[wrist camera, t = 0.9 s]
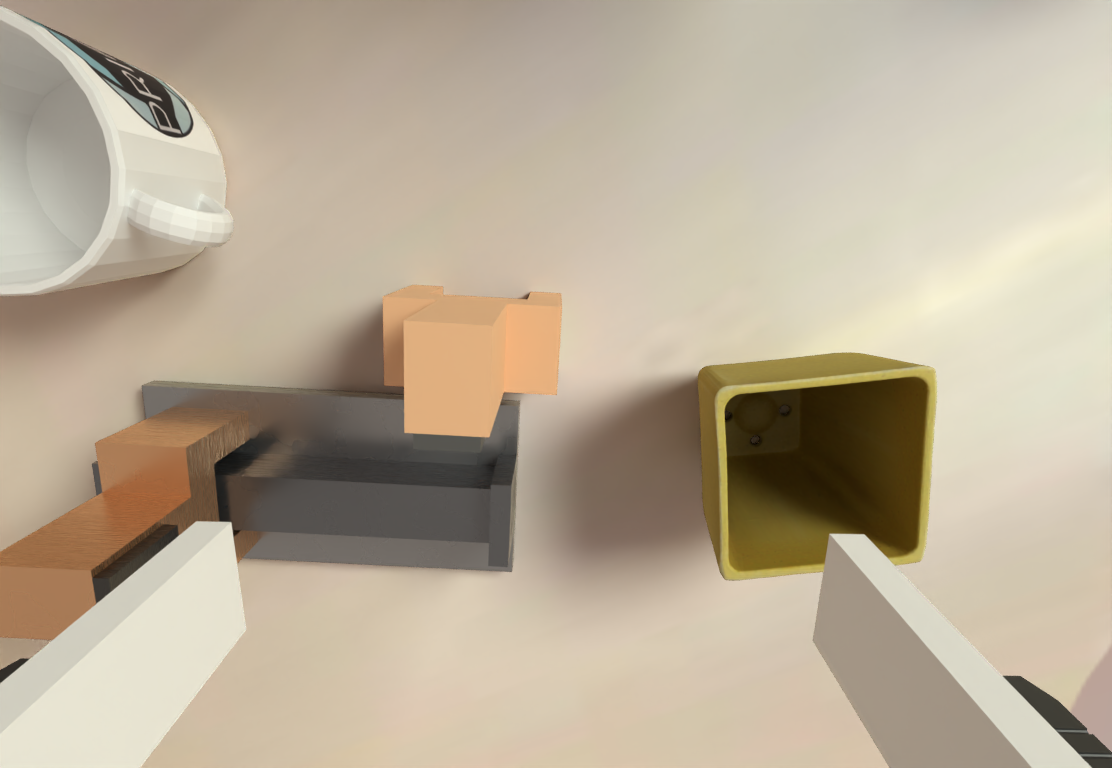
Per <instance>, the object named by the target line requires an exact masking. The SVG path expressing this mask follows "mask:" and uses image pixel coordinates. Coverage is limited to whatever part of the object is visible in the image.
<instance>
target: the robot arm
mask: <svg viewBox="0 0 1112 768" xmlns="http://www.w3.org/2000/svg"><path fill="white" fill-rule="evenodd" d="M245 630H246V624H245V616H244V609H243V602H242V595H241V588H240V581H239V574H238V567H237V559H236V552H235V545H234V538H233V531H232V524H231V522H205V521H196V522H195V523H194V524H193V525H191V526H190V527H189V528H188V529H186V530H185V531H184V532H183V533H182V534H180V535H179V536H178V537H177V538H176V539H174V540H173V541H172V542H171V543H170V544H168V545H167V546H166V547H165V548H163V549H162V550H161V551H160V552H159V553H157V554H156V555H155V556H154V557H153V558H151V559H150V560H149V561H148V562H147V563H145V564H144V565H143V566H142V567H141V568H139V569H138V570H137V571H136V572H134V573H133V574H132V575H131V576H130V577H128V578H127V579H126V580H125V581H124V582H122V583H121V584H120V585H119V586H118V587H116V588H115V589H114V590H113V591H111V592H110V593H109V594H108V595H107V596H105V597H104V598H103V599H102V600H101V601H99V602H98V603H97V604H96V605H95V606H93V607H92V608H91V609H90V610H89V611H87V612H86V613H85V614H84V615H82V616H81V617H80V618H79V619H78V620H76V621H75V622H74V623H73V624H72V625H70V626H69V627H68V628H67V629H66V630H64V631H63V632H62V633H61V634H59V635H58V636H57V637H56V638H55V639H53V640H52V641H51V642H50V643H49V644H47V645H46V646H45V647H44V648H43V649H41V650H40V651H39V652H38V653H37V654H35V655H34V656H33V657H32V658H30V659H19V660H18V661H16V662H14V663H12V664H10V665H8V666H7V667H5V668H3V669H1V670H0V768H140V767H141V766H142V765H143V763H144V762H145V761H146V760H147V758H148V757H149V756H150V754H151V753H152V752H153V750H154V749H155V748H156V747H157V745H158V744H159V743H160V741H161V740H162V739H163V737H164V736H165V735H166V733H167V732H168V731H169V730H170V728H171V727H172V726H173V724H174V723H175V722H176V720H177V719H178V718H179V717H180V715H181V714H182V713H183V711H184V710H185V709H186V707H187V706H188V705H189V703H190V702H191V701H192V700H193V698H194V697H195V696H196V694H197V693H198V692H199V690H200V689H201V688H202V687H203V685H204V684H205V683H206V681H207V680H208V679H209V677H210V676H211V675H212V673H213V672H214V671H215V670H216V668H217V667H218V666H219V664H220V663H221V662H222V660H223V659H224V658H225V657H226V655H227V654H228V653H229V651H230V650H231V649H232V647H233V646H234V645H235V643H236V642H237V641H238V640H239V638H240V637H241V636H242V634H243V633H244V632H245ZM813 642H814V643H815V645H816V647H817V648H818V650H819V652H820V653H821V655H822V657H823V658H824V660H825V662H826V663H827V665H828V667H829V668H830V670H831V672H832V673H833V675H834V677H835V678H836V680H837V681H838V683H839V685H840V686H841V688H842V690H843V691H844V693H845V695H846V696H847V698H848V700H849V701H850V703H851V705H852V706H853V708H854V710H855V711H856V713H857V715H858V716H859V718H860V720H861V721H862V723H863V724H864V726H865V728H866V729H867V731H868V733H869V734H870V736H871V738H872V739H873V741H874V743H875V744H876V746H877V748H878V749H879V751H880V753H881V754H882V756H883V758H884V759H885V761H886V763H887V764H888V766H889V767H890V768H1112V752H1111V751H1110V750H1109V749H1107V747H1106V746H1105V745H1103V744H1102V743H1101V742H1100V741H1099V740H1098V739H1097V738H1096V737H1095V736H1094V735H1093V734H1092V735H1091V734H1088V732H1087V728H1086V727H1085V726H1084V725H1082V723H1080V721H1078V720H1077V719H1076V718H1075V717H1074V716H1073V715H1072V714H1071V713H1070V712H1069V711H1068V710H1067V709H1066V708H1065V707H1064V706H1063V705H1062V704H1061V703H1060V702H1059V701H1058V700H1056V699H1055V698H1053V697H1052V696H1050V695H1049V694H1047V693H1046V692H1044V691H1042V690H1041V689H1039V688H1038V687H1036V686H1035V685H1033V684H1032V683H1030V682H1029V681H1027V680H1026V679H1024V678H1022V677H1021V676H1002V675H1001V674H1000V673H999V672H998V671H997V670H996V669H995V668H994V667H993V666H992V665H991V664H990V663H989V662H988V661H987V660H986V659H985V658H984V657H983V656H982V655H981V653H980V652H979V651H978V650H977V649H976V648H975V647H974V646H973V645H972V644H971V643H970V642H969V641H968V640H967V639H966V638H965V637H964V636H963V635H962V634H961V633H960V632H959V631H958V630H957V629H956V628H955V627H954V626H953V625H952V624H951V623H950V622H949V621H948V620H947V619H946V618H945V617H944V616H943V615H942V613H941V612H940V611H939V610H938V609H937V608H936V607H935V606H934V605H933V604H932V603H931V602H930V601H929V600H928V599H927V598H926V597H925V596H924V595H923V594H922V593H921V592H920V591H919V590H918V589H917V588H916V587H915V586H914V585H913V584H912V583H911V582H910V581H909V580H908V579H907V578H906V577H905V576H904V574H903V573H902V572H901V571H900V570H899V569H898V568H897V567H896V566H895V565H894V564H893V563H892V562H891V561H890V560H889V559H888V558H887V557H886V556H885V555H884V554H883V553H882V552H881V551H880V550H879V549H878V548H877V547H876V546H875V545H874V544H873V543H872V542H871V541H870V540H869V539H868V538H867V537H866V536H865V534H829V540H828V546H827V553H826V559H825V565H824V572H823V578H822V584H821V591H820V597H819V603H818V610H817V616H816V622H815V629H814V635H813Z"/></svg>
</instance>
